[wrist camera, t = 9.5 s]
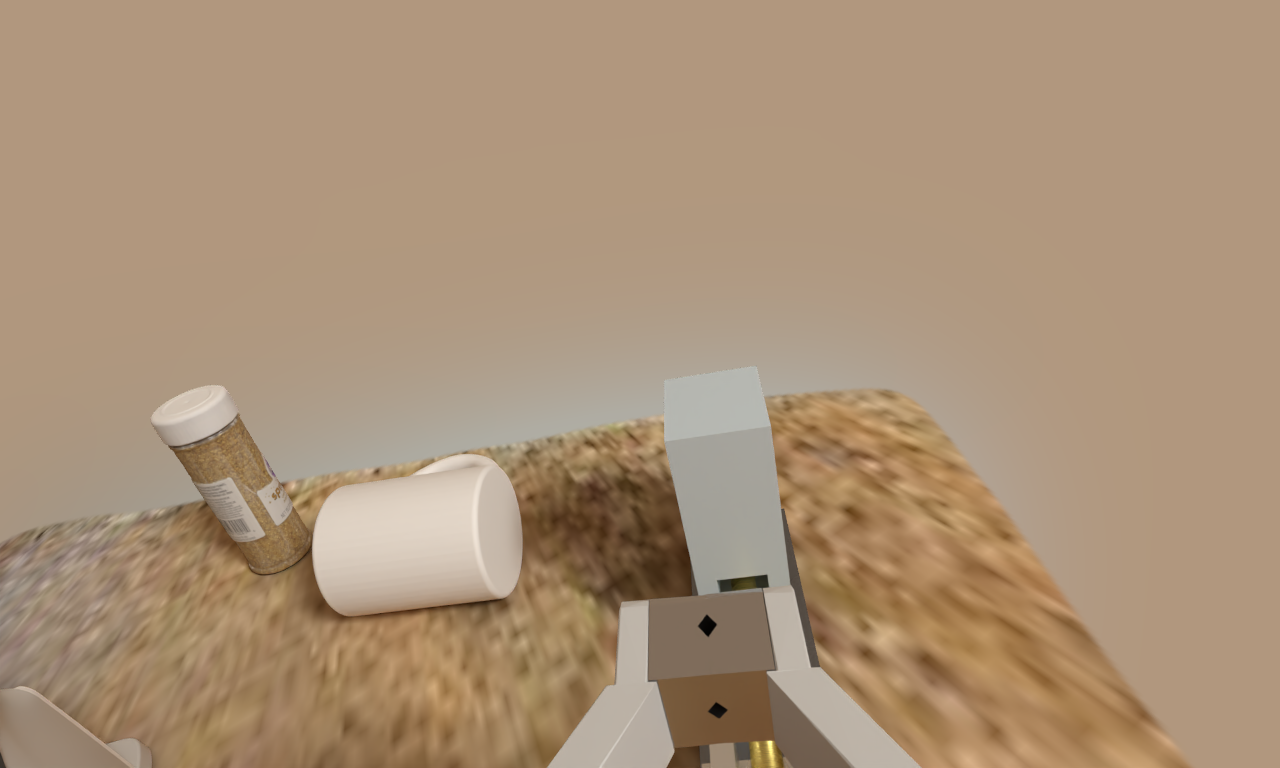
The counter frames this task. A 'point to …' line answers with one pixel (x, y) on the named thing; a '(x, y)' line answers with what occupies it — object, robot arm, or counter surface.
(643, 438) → the counter surface
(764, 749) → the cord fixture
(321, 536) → the mug
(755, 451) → the box sleeve
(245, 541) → the sprinkles bottle
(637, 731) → the robot arm
